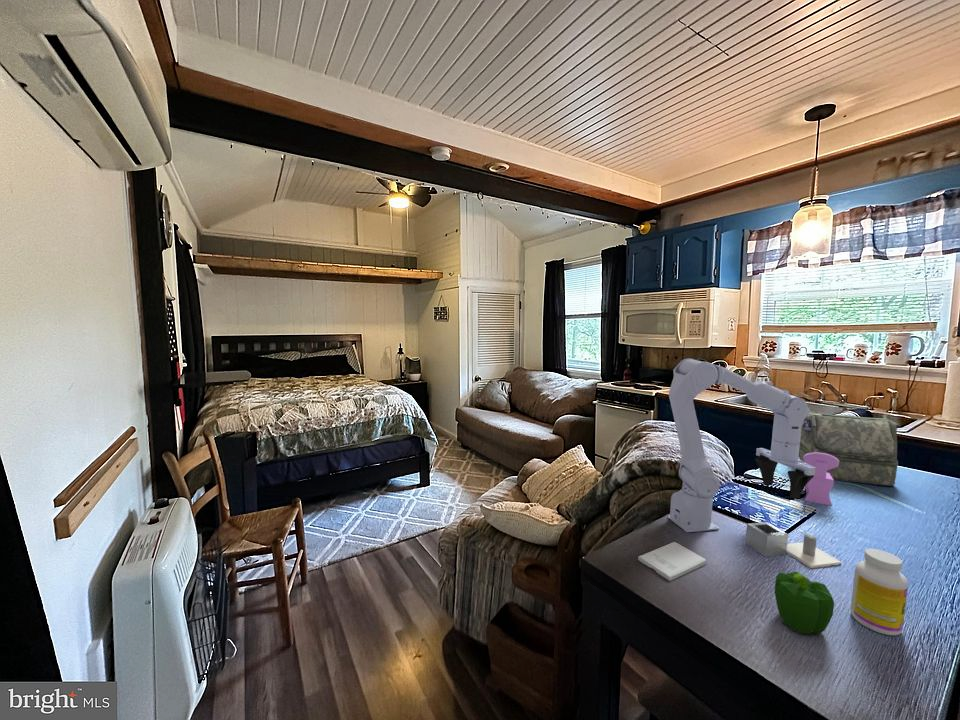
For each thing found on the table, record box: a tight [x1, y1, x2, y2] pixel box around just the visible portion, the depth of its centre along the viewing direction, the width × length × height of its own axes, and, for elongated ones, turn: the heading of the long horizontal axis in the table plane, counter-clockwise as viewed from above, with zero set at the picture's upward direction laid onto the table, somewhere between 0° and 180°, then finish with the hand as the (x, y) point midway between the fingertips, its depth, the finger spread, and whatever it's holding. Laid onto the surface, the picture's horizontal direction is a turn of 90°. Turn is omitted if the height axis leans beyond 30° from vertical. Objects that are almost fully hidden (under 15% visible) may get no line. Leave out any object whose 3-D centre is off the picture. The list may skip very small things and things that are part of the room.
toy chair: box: [803, 452, 839, 506], centre depth 120 cm, size 8×9×15 cm
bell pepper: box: [774, 571, 835, 635], centre depth 70 cm, size 8×8×10 cm
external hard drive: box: [637, 541, 707, 582], centre depth 88 cm, size 2×8×12 cm
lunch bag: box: [799, 410, 899, 486], centre depth 137 cm, size 26×18×22 cm
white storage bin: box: [744, 521, 789, 558], centre depth 93 cm, size 6×6×5 cm
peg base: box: [786, 533, 842, 569], centre depth 90 cm, size 8×8×5 cm
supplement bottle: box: [850, 548, 909, 636], centre depth 70 cm, size 7×7×13 cm
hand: (780, 491), depth 102 cm, fingers open, 7 cm apart
